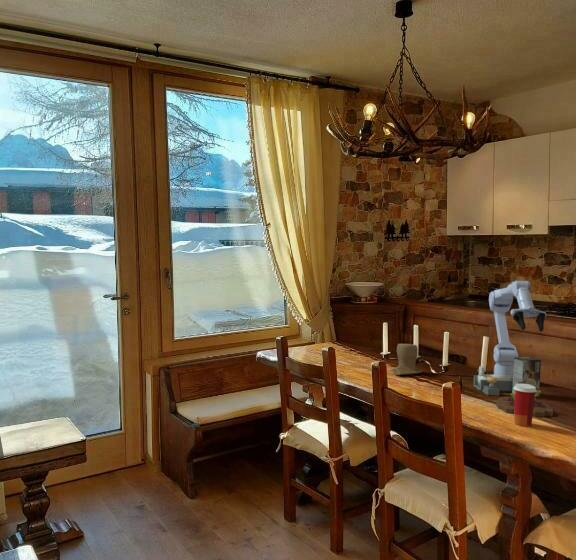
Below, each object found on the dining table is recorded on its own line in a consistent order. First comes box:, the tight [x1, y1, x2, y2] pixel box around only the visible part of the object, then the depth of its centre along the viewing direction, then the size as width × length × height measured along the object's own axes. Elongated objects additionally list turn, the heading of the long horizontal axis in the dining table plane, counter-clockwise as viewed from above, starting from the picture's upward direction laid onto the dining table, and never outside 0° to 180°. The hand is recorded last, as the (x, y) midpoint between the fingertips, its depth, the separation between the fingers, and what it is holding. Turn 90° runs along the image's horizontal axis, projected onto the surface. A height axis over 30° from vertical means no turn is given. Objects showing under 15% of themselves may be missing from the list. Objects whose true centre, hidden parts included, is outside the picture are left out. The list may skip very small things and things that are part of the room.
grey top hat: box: [391, 343, 423, 376], centre depth 275 cm, size 15×12×15 cm
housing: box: [473, 374, 513, 397], centre depth 248 cm, size 15×16×5 cm
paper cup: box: [513, 384, 537, 428], centre depth 201 cm, size 8×8×14 cm
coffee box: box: [511, 356, 542, 397], centre depth 242 cm, size 9×6×16 cm
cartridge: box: [477, 365, 511, 386], centre depth 251 cm, size 5×13×9 cm, turn 92°
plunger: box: [487, 377, 497, 388], centre depth 242 cm, size 4×4×5 cm
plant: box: [495, 382, 554, 418], centre depth 221 cm, size 20×20×11 cm
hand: (532, 329), depth 234 cm, fingers open, 7 cm apart
